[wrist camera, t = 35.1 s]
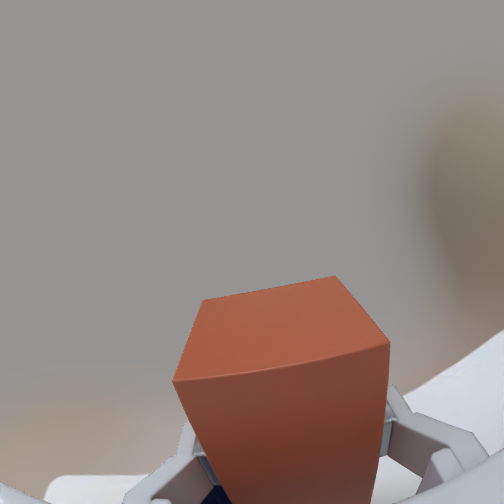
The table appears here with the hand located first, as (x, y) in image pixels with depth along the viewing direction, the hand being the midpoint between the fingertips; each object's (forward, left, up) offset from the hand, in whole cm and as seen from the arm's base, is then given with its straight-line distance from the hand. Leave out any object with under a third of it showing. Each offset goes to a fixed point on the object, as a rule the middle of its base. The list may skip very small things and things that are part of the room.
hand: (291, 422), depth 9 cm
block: (-1, +1, -5) cm, 6 cm away
